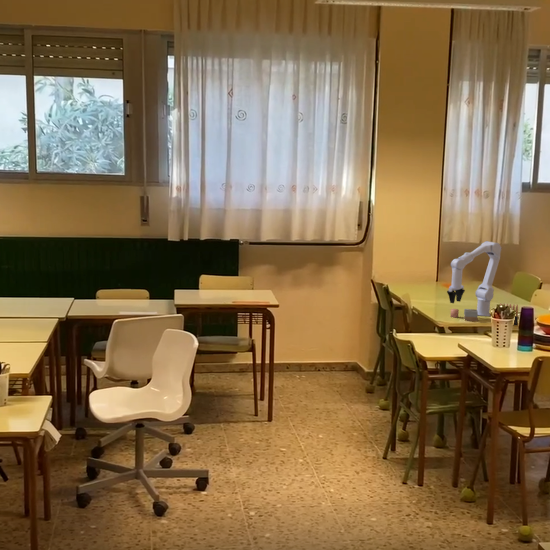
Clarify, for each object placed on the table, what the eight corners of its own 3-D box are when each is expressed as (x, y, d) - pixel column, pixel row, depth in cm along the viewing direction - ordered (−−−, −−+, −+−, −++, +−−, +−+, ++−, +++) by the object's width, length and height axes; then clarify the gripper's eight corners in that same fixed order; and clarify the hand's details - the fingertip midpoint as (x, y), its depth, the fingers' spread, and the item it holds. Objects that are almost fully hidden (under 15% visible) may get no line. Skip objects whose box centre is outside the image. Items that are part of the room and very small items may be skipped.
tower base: (464, 318, 407) (464, 313, 406) (476, 319, 405) (476, 314, 405) (464, 321, 400) (465, 316, 399) (477, 322, 398) (477, 317, 398)
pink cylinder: (450, 315, 412) (450, 308, 411) (458, 316, 411) (458, 309, 410) (450, 317, 408) (451, 310, 407) (458, 318, 407) (458, 310, 406)
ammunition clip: (517, 324, 393) (518, 303, 391) (517, 325, 391) (519, 304, 389) (497, 323, 395) (499, 302, 393) (497, 324, 393) (499, 303, 392)
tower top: (464, 313, 406) (464, 308, 406) (476, 314, 405) (476, 309, 404) (464, 316, 399) (465, 311, 399) (477, 317, 398) (477, 312, 397)
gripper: (456, 277, 413) (455, 299, 416) (444, 279, 403) (442, 302, 405) (467, 278, 409) (465, 301, 411) (455, 281, 398) (453, 304, 400)
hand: (455, 302), depth 408 cm, fingers open, 7 cm apart
